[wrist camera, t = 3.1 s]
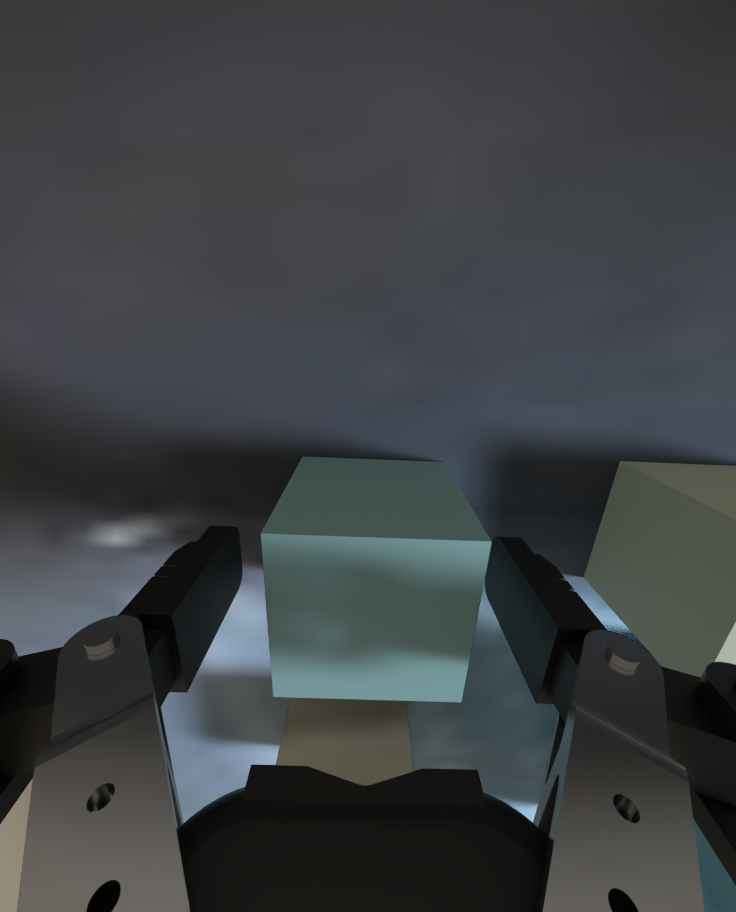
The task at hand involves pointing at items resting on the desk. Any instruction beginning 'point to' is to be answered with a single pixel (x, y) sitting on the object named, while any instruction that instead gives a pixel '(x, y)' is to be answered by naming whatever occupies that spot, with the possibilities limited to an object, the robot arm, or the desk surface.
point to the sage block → (671, 560)
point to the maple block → (348, 738)
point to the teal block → (372, 581)
